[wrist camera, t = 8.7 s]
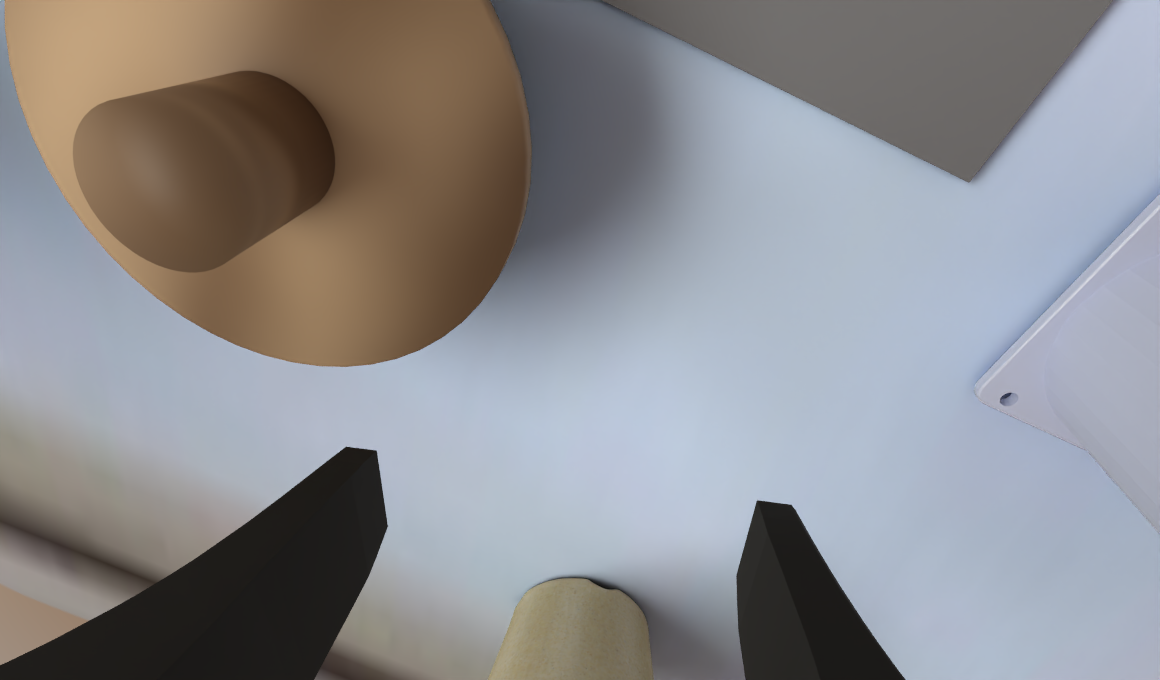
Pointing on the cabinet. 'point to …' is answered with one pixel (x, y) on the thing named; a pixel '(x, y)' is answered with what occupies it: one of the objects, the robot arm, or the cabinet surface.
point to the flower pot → (575, 635)
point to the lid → (286, 159)
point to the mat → (894, 60)
